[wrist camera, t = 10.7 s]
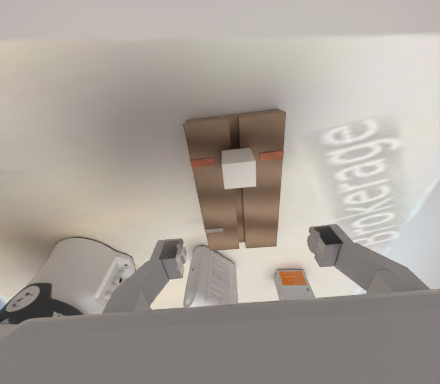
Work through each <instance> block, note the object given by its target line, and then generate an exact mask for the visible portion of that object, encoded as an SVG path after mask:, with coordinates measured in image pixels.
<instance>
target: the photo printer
mask: <svg viewBox="0 0 440 384" xmlns="http://www.w3.org/2000/svg"><path fill="white" fill-rule="evenodd" d="M226 304H238V292H237V275H236V266H235V265H234V264H233V263H232V262H230V261H229V260H227V259H226V258H224V257H223V256H221V255H219V254H218V253H216V252H214V251H210V250H209V248H207V247H205V246H199V247H197V248H196V249H195V250H194V253H193V255H192V259H191V264H190V269H189V274H188V280H187V285H186V290H185V296H184V301H183V305H184V307H198V306H212V305H226Z"/></svg>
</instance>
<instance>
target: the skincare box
mask: <svg viewBox="0 0 440 384" xmlns="http://www.w3.org/2000/svg"><path fill="white" fill-rule="evenodd" d="M275 284H276V288H277V292H278V296H279V300H280V301H281V300H294V299H308V298H315V296H314V294H313V292H312V289H311V287H310V284H309V282H308V280H307V277H306V275H305V273H304V270H303V269H301V270H276V276H275Z"/></svg>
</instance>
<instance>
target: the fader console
mask: <svg viewBox="0 0 440 384" xmlns="http://www.w3.org/2000/svg"><path fill="white" fill-rule="evenodd" d="M285 118H286V112H284V111H282V110H279V109H277V110H268V111H260V112H252V113H243V114H235V115H227V116H218V117H210V118H202V119H193V120H187V121H186V122H185V123H184V124H183V126H184V130H185V135H186V140H187V145H188V150H189V154H190V159H191V160H190V161H191V166H192V169H193V174H194V178H195V183H196V188H197V193H198V198H199V202H200V207H201V212H202V217H203V222H204V226H205V233H206V236H207V241H208V246H209V250H210V251H213V250H228V249H239V242H245V246H246V248H258V247H273V246H276V245H277V231H278V217H279V202H280V188H281V174H282V160H283V153H284V151H283V146H284V132H285ZM242 148H250V149H251V151H252V153H253V156H254V158H255V160H256V186H255V187H244V188H233V189H224V180H223V171H222V151H224V150H233V149H242Z"/></svg>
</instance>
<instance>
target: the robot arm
mask: <svg viewBox="0 0 440 384" xmlns="http://www.w3.org/2000/svg"><path fill="white" fill-rule="evenodd" d="M309 232H310V235H309V236H308V240H307V242H308V246H309V249H310V251H311V252H312V253H314V254H315V257H314V258H315V259H316V261H317V263H318V265H319V266H320V267H328V266H335V268H337V269H338V270H339V271H341V272H342V273H343V274H345V275H346V276H347V277H349V278H350V279H351V280H353V281H354V282H355V283H357V284H358V285H359V286H360V287H362V288H363V289H364V290H366V291H367V292H366V294H362V295H349V296H335V297H321V298H308V299H294V300H281V301H267V302H253V303H239V304H226V305H212V306H198V307H184V308H171V309H157V310H151V308H150V305H151V303H152V302H153V301H154V299H155V298H156V297H157V295H158V294H159V293H160V292H161V290H162V289H163V288H164V286H165V285H166V284H167V282H168V281H169V279H178V278H183V273H184V266H183V264H184V263H185V262H186V250H185V247H183V240H182V239H166V240H159V241H158V242H157V244H156V246H155V248H154V251H153V253H152V256H151V258H150V261H147V262H146V263H144V264H143V265H142V266H141V267H140V268H139V269H138V270H137V271H135V267H134V264H133V260H132V258H131V257H130V256H128V255H125V254H122V253H119V252H116V251H114V250H112V249H111V248H109V247H107V246H106V245H104V244H101V243H99V242H96V241H93V240H89V239H83V238H69V239H65V240H62V241H60V242H59V243H57V244H56V246H55V248H54V249H53V251H52V253H51V255H50V256H49V258H48V259H47V261H46V262H45V264H44V265H43V266H42V268H41V269H40V270H39V272H38V273H37V274H36V275H35V277H34V278H33V279H32V280H31V281H30V283H29V284H28V285H27V286H26V287H25V288H24V289H22V290H21V291H20V292H19V293H18V294H17V295H15V296H14V297H13V298H12V299H11V300H10V301H9V302H8V303H7V304H6V305H5V306H4V307H3V308H2V309H1V310H0V384H440V289H429V288H428V287H427V286H426V285H425V284H424V283H423V282H422V281H421V280H420V279H419V278H418V277H417V276H416V275H415V274H413V273H412V272H411V271H410V270H409V269H408V268H407V267H405V266H403V265H401V264H399V263H397V262H394V261H393V260H390V259H388V258H386V257H384V256H382V255H380V254H378V253H376V252H374V251H372V250H370V249H368V248H366V247H364V246H362V245H360V244H358V243H354V242H353V241H352V240H351V239H350V238H349V237H348V236H347V235H346V234H345V232H344V231H343V230H342V229H341V228H340V227H339V226H338V225H337V224H331V225H321V226H311V227H310V228H309Z"/></svg>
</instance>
